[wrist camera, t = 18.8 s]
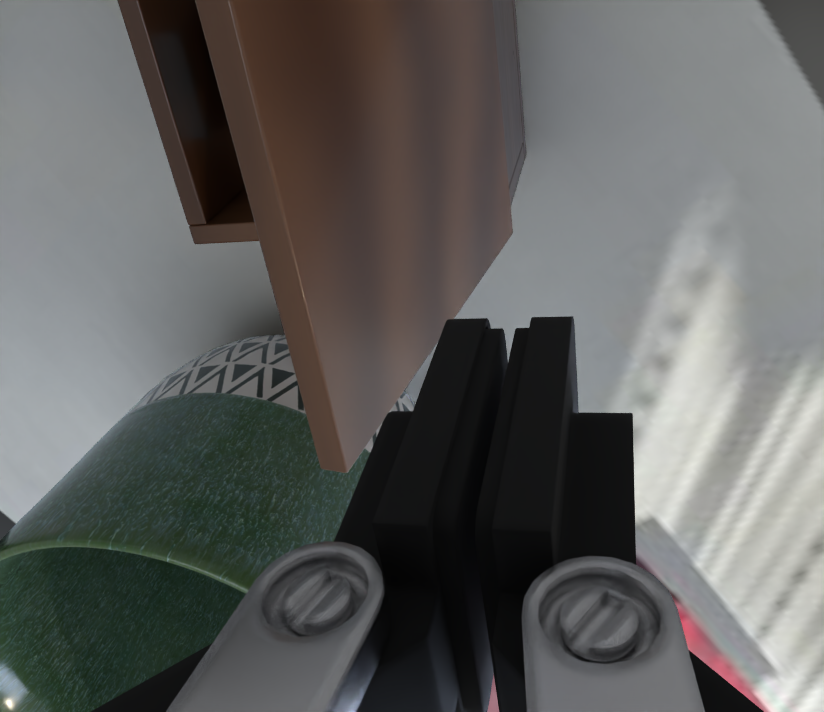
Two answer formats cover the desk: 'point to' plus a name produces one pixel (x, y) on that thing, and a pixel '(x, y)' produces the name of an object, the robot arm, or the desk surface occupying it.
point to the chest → (207, 124)
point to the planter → (164, 529)
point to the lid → (364, 184)
